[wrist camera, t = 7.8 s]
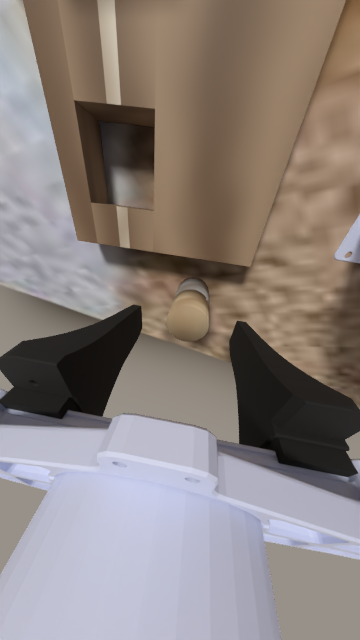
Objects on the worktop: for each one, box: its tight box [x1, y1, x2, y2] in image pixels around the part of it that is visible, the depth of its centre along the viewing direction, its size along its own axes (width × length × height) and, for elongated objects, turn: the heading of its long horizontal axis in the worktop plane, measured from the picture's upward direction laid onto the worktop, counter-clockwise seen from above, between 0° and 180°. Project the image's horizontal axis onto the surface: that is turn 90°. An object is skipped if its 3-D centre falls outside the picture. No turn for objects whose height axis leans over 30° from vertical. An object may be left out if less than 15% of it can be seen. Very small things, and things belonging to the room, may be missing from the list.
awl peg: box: [166, 277, 209, 341], centre depth 15 cm, size 3×3×6 cm
